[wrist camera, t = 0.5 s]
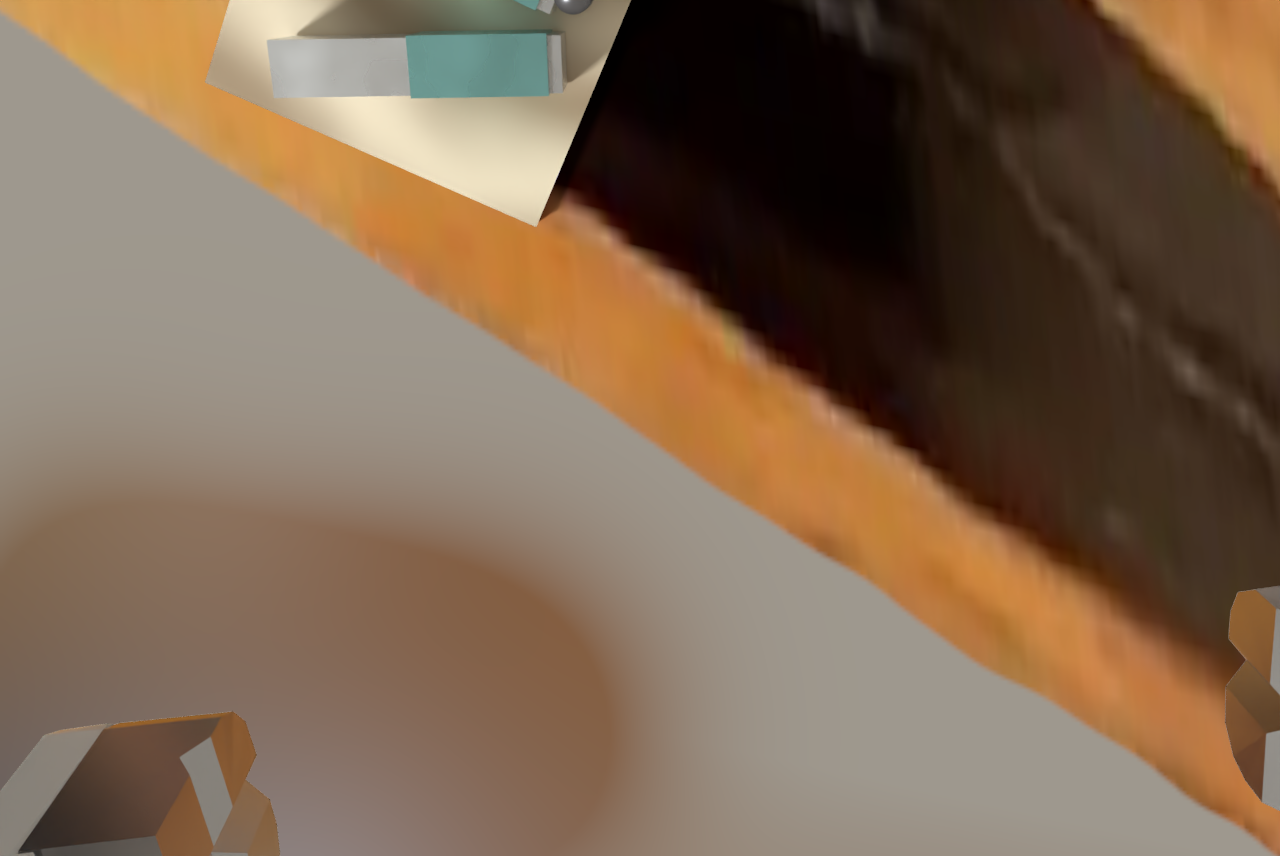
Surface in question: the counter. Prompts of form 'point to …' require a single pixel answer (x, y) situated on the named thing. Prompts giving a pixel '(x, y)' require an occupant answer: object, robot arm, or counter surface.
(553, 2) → the tongs fixed arm
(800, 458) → the counter surface
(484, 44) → the tong arm
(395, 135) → the board
